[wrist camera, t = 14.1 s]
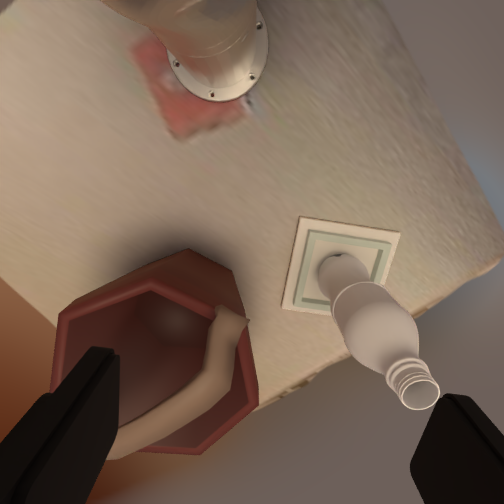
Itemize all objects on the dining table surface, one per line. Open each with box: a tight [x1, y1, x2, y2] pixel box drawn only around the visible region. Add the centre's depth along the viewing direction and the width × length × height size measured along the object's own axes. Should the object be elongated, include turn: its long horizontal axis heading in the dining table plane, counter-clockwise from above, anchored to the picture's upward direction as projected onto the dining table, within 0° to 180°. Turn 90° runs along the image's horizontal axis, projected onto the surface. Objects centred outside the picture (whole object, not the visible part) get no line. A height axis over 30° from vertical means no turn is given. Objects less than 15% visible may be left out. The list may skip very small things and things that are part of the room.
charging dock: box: [281, 216, 401, 316], centre depth 48 cm, size 15×15×2 cm
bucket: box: [49, 248, 259, 460], centre depth 39 cm, size 24×22×25 cm
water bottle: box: [317, 254, 440, 410], centre depth 36 cm, size 7×7×25 cm
